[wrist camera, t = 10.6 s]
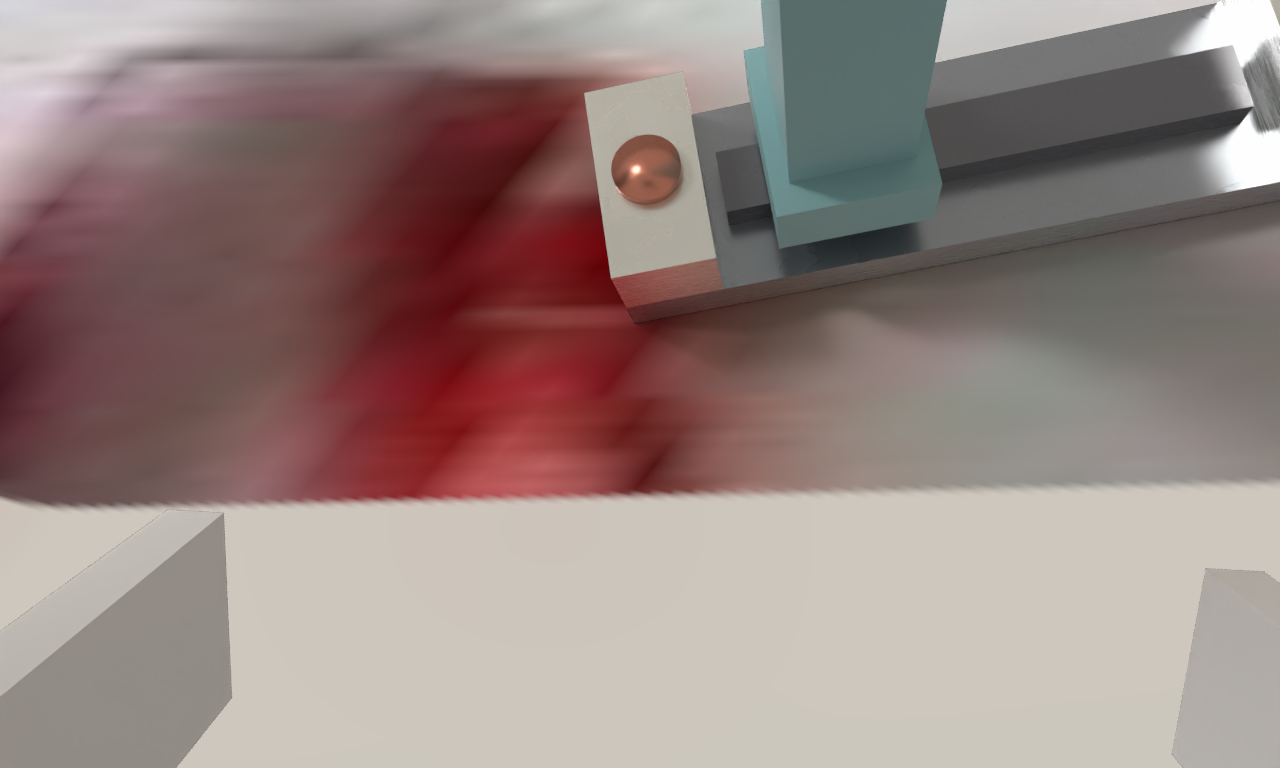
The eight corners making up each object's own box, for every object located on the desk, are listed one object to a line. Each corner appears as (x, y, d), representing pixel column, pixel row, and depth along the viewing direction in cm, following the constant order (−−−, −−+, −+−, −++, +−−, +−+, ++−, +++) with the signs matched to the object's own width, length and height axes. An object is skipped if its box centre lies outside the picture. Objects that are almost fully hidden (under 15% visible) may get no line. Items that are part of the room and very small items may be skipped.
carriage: (779, 248, 30) (753, -55, 18) (748, 91, 32) (704, -292, 19) (933, 218, 30) (1020, -116, 17) (894, 60, 31) (949, -356, 18)
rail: (634, 323, 33) (608, 273, 29) (609, 156, 35) (581, 85, 31) (1366, 183, 31) (1453, 106, 26) (1300, 10, 32) (1372, -88, 28)
